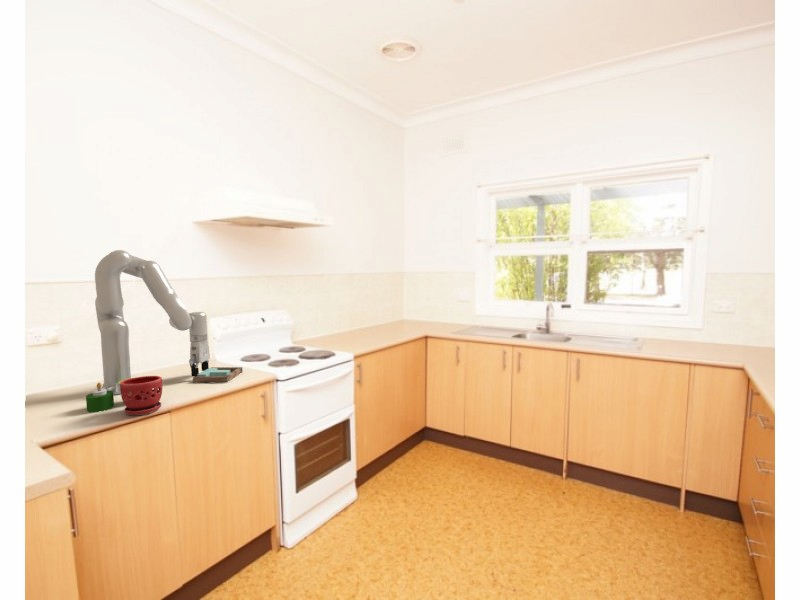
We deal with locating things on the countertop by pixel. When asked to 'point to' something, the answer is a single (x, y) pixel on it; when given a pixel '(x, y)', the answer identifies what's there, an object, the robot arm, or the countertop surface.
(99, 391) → the candle
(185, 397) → the countertop surface
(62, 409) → the countertop surface
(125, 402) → the plant pot
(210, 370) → the teal T-block
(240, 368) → the walnut bay
